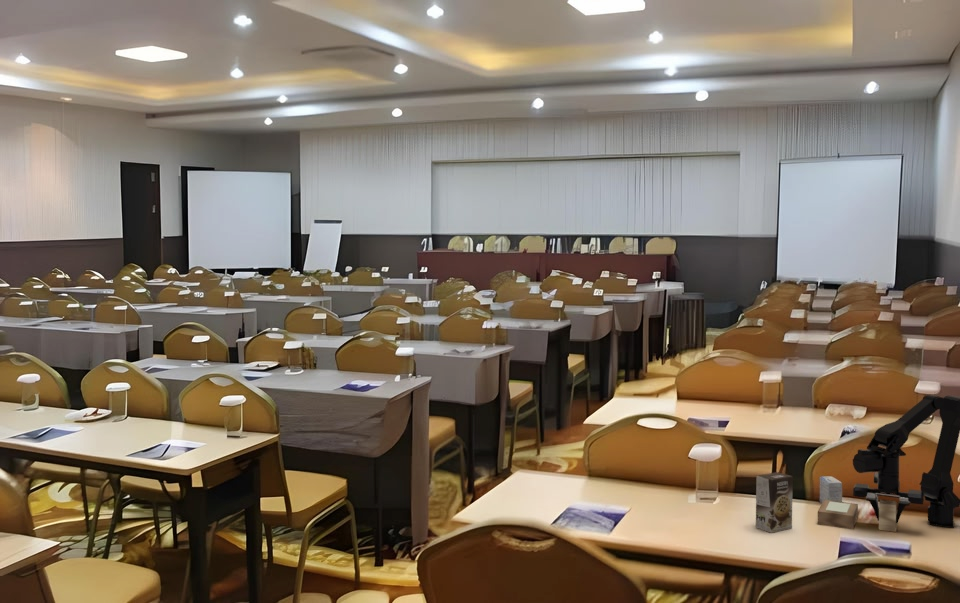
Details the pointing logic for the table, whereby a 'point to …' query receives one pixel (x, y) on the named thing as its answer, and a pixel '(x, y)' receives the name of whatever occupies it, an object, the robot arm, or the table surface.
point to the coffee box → (774, 502)
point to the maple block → (887, 515)
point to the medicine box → (830, 489)
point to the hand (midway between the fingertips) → (887, 521)
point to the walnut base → (838, 514)
